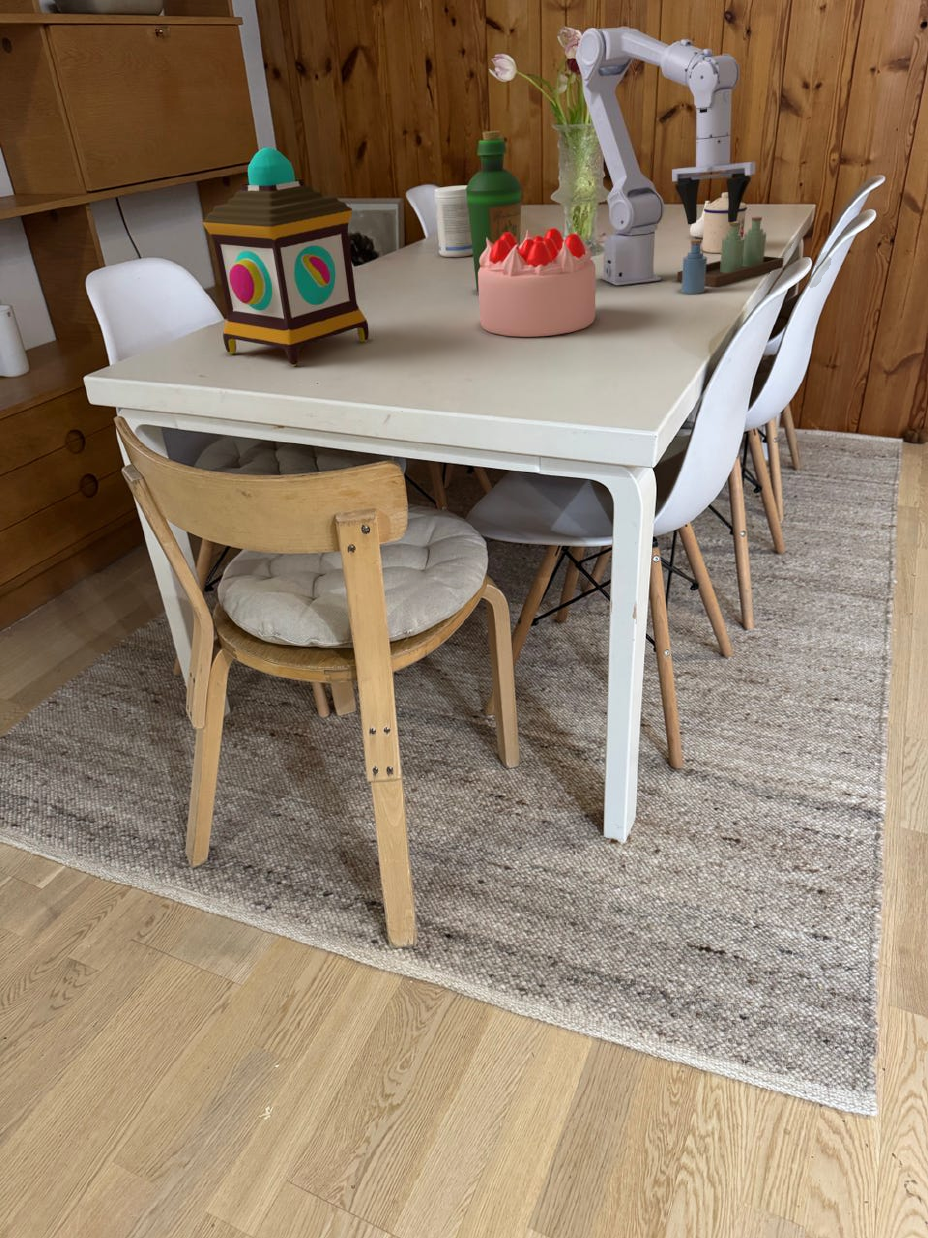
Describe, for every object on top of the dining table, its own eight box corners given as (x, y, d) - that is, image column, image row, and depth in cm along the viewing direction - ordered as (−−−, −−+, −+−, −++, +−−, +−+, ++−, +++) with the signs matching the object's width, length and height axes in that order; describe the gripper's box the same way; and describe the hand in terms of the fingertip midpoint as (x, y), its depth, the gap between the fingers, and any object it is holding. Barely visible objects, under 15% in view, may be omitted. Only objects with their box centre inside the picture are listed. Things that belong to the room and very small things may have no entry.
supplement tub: (486, 252, 217) (483, 185, 210) (458, 259, 212) (453, 190, 204) (459, 249, 224) (455, 184, 216) (430, 256, 218) (425, 189, 211)
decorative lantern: (303, 327, 163) (274, 141, 148) (382, 340, 152) (360, 139, 137) (214, 355, 151) (172, 154, 135) (292, 371, 139) (257, 153, 124)
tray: (715, 286, 170) (716, 276, 169) (676, 281, 176) (677, 271, 175) (782, 267, 181) (783, 257, 180) (744, 262, 187) (744, 253, 186)
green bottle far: (754, 268, 180) (759, 219, 175) (737, 265, 182) (741, 217, 178) (767, 264, 182) (772, 216, 177) (749, 262, 185) (754, 214, 180)
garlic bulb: (684, 237, 218) (686, 201, 213) (705, 234, 220) (707, 198, 215) (700, 240, 213) (702, 203, 208) (722, 237, 215) (724, 200, 210)
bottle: (520, 296, 174) (515, 132, 160) (466, 297, 176) (456, 135, 162) (528, 284, 183) (524, 127, 168) (476, 285, 185) (468, 131, 171)
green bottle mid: (733, 274, 176) (737, 224, 171) (715, 271, 179) (719, 222, 174) (746, 270, 178) (750, 221, 173) (728, 268, 181) (732, 219, 176)
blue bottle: (694, 294, 166) (698, 242, 161) (676, 292, 168) (679, 240, 164) (709, 290, 168) (713, 238, 163) (691, 288, 171) (694, 237, 166)
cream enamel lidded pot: (737, 254, 196) (742, 195, 190) (696, 253, 200) (699, 195, 194) (750, 244, 205) (756, 187, 199) (710, 243, 209) (714, 188, 202)
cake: (464, 320, 160) (458, 234, 153) (565, 304, 166) (565, 220, 158) (507, 344, 145) (503, 250, 137) (618, 325, 150) (620, 234, 143)
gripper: (664, 143, 157) (664, 227, 163) (744, 134, 149) (742, 223, 155) (681, 140, 162) (681, 222, 168) (761, 131, 153) (757, 218, 160)
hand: (711, 222), depth 162 cm, fingers open, 7 cm apart
